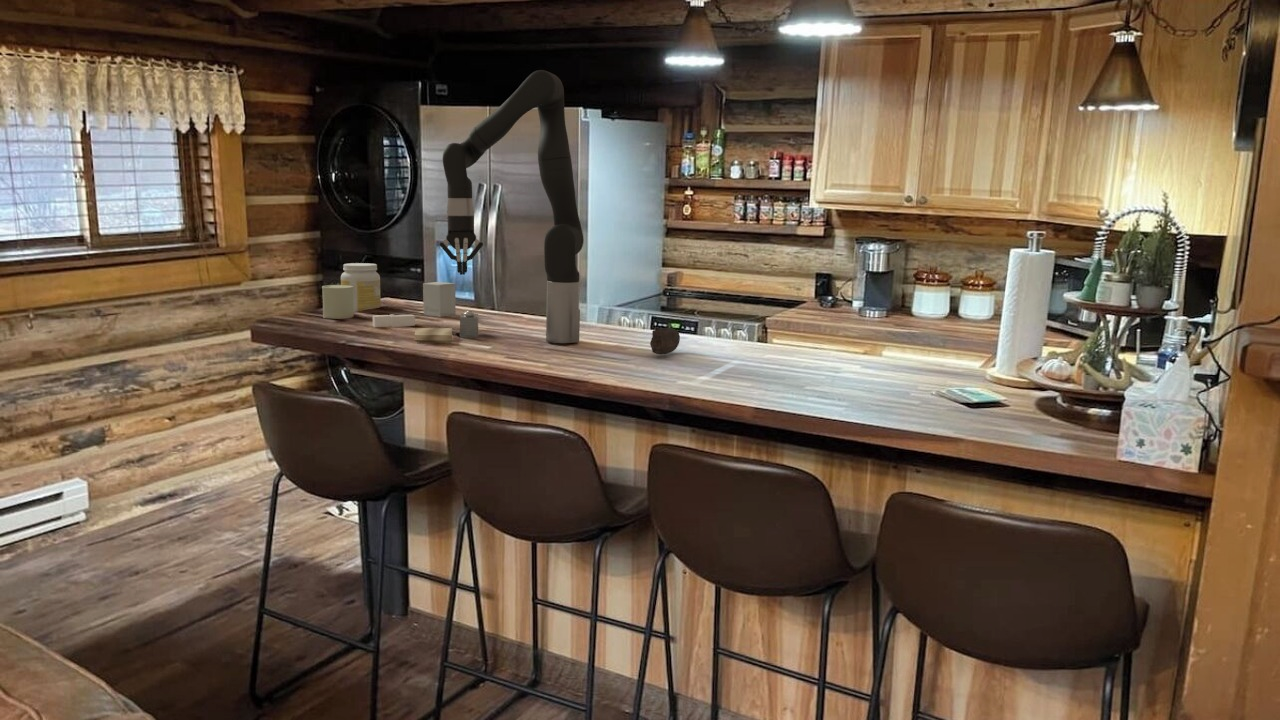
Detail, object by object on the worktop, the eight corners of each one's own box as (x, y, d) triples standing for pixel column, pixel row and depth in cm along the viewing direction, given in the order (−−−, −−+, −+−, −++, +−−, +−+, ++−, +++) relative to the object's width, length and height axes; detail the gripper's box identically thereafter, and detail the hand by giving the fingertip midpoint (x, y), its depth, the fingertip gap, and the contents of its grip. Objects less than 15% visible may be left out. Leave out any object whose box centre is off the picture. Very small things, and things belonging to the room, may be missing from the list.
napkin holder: (423, 332, 283) (423, 313, 282) (409, 337, 272) (409, 317, 271) (375, 329, 285) (375, 310, 284) (359, 334, 274) (359, 315, 273)
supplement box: (456, 323, 301) (456, 283, 299) (439, 325, 295) (439, 284, 293) (439, 320, 305) (439, 281, 303) (422, 323, 299) (422, 282, 296)
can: (322, 322, 293) (321, 283, 291) (354, 322, 296) (353, 283, 294) (322, 326, 285) (321, 286, 282) (354, 326, 287) (353, 286, 285)
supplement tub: (385, 314, 314) (384, 263, 312) (374, 319, 302) (373, 266, 300) (348, 313, 315) (347, 262, 312) (336, 318, 303) (335, 265, 300)
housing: (478, 333, 281) (478, 310, 280) (477, 338, 273) (477, 314, 271) (461, 333, 281) (461, 309, 279) (459, 338, 272) (459, 313, 271)
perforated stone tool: (669, 348, 266) (670, 323, 265) (686, 350, 264) (687, 325, 263) (645, 355, 253) (645, 329, 252) (662, 357, 251) (663, 331, 249)
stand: (452, 336, 273) (452, 328, 273) (452, 344, 260) (452, 335, 260) (416, 336, 271) (416, 328, 271) (414, 344, 259) (414, 334, 258)
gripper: (483, 214, 279) (485, 273, 282) (437, 214, 277) (439, 273, 280) (484, 214, 272) (485, 275, 275) (436, 214, 270) (438, 275, 273)
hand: (462, 274), depth 278 cm, fingers closed
